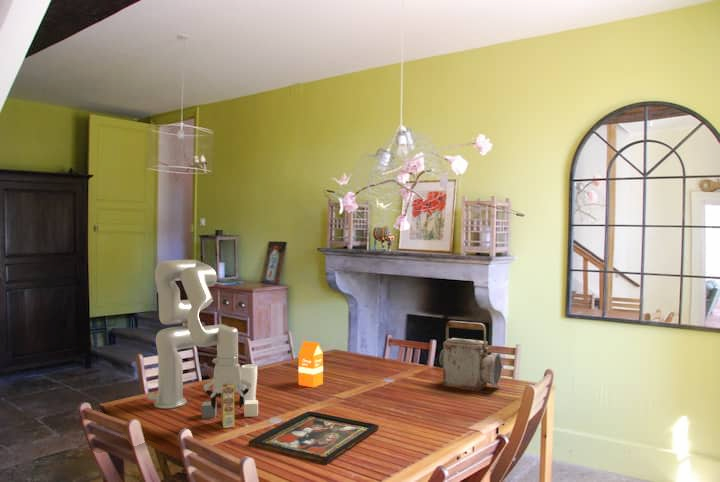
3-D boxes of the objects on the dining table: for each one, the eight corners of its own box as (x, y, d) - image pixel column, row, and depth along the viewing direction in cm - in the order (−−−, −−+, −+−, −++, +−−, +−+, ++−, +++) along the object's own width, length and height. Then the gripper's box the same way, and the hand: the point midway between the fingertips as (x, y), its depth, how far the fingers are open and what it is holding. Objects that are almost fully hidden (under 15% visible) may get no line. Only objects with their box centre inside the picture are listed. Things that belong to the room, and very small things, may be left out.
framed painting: (298, 414, 212) (298, 407, 212) (382, 428, 199) (382, 420, 199) (241, 451, 177) (241, 442, 177) (339, 470, 164) (339, 461, 164)
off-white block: (244, 417, 209) (244, 404, 209) (245, 412, 214) (245, 400, 214) (257, 416, 210) (257, 403, 210) (258, 412, 215) (258, 399, 214)
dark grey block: (201, 418, 207) (201, 405, 207) (203, 414, 212) (203, 401, 212) (215, 418, 207) (215, 405, 207) (216, 414, 212) (216, 401, 212)
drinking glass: (253, 404, 224) (253, 368, 224) (238, 403, 226) (238, 367, 226) (259, 399, 231) (259, 364, 231) (244, 398, 232) (244, 363, 232)
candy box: (234, 427, 197) (235, 385, 197) (222, 428, 196) (223, 386, 196) (231, 419, 206) (232, 379, 206) (220, 420, 204) (220, 380, 204)
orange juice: (313, 387, 250) (313, 344, 250) (298, 384, 255) (298, 342, 255) (323, 383, 257) (323, 341, 257) (308, 380, 261) (308, 339, 261)
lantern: (493, 394, 240) (493, 327, 240) (436, 385, 254) (436, 321, 254) (502, 385, 254) (503, 322, 254) (448, 378, 268) (448, 317, 267)
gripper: (202, 364, 196) (202, 411, 196) (250, 362, 198) (250, 409, 198) (205, 359, 203) (205, 404, 203) (252, 358, 205) (251, 403, 206)
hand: (227, 407), depth 201 cm, fingers open, 9 cm apart
